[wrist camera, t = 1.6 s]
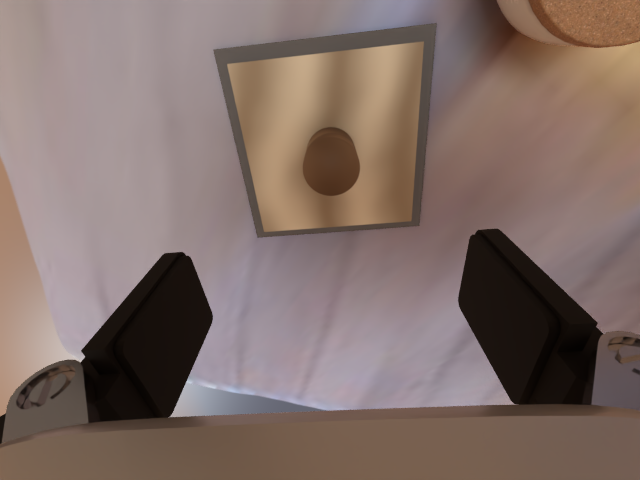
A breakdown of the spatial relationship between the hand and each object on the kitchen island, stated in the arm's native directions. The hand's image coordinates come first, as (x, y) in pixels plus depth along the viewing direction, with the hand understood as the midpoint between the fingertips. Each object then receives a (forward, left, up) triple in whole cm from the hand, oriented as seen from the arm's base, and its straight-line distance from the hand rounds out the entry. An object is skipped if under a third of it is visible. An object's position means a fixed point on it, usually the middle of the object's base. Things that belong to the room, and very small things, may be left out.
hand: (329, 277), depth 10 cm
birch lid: (0, 0, -18) cm, 18 cm away
